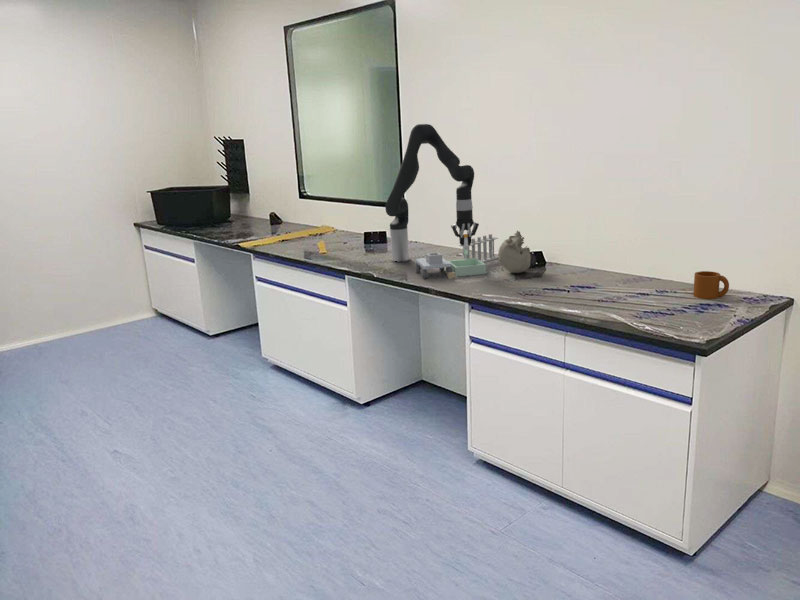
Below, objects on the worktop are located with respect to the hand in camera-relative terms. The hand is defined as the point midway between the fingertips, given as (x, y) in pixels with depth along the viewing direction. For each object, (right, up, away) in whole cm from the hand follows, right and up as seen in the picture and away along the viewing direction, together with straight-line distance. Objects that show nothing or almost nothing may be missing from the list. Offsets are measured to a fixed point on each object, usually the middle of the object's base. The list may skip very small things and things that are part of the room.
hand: (465, 244), depth 298 cm
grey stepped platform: (-15, -14, +2) cm, 21 cm away
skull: (+23, -14, -4) cm, 27 cm away
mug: (+89, -25, -57) cm, 108 cm away
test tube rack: (+9, -8, +21) cm, 24 cm away
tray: (+1, -13, +4) cm, 13 cm away
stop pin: (0, -5, +1) cm, 5 cm away
